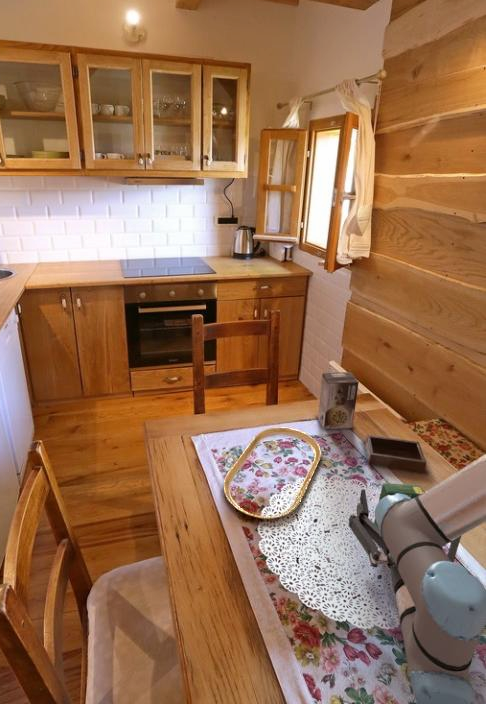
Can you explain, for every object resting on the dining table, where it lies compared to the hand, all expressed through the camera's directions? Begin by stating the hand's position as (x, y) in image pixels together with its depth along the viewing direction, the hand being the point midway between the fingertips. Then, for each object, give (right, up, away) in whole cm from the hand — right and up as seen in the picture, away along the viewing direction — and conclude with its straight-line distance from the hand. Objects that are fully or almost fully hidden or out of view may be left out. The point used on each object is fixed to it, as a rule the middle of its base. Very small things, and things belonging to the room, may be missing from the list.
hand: (395, 499), depth 87 cm
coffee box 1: (-2, +6, +38) cm, 38 cm away
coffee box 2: (-1, -8, 0) cm, 8 cm away
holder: (+9, +1, +23) cm, 25 cm away
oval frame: (-23, -1, +18) cm, 30 cm away
